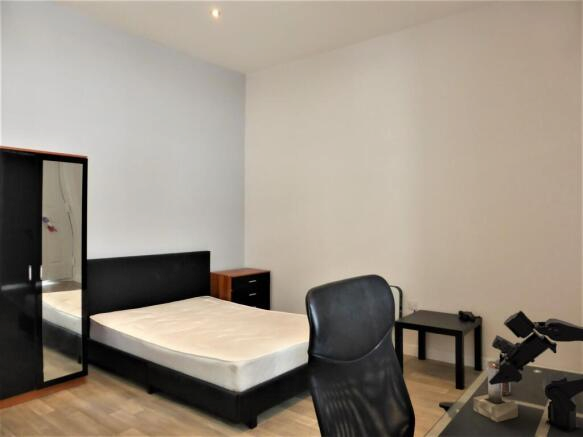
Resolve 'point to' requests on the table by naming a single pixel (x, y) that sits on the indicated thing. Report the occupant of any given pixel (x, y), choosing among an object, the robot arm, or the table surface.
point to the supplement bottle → (505, 386)
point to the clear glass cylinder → (495, 389)
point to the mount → (496, 408)
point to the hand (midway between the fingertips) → (490, 379)
